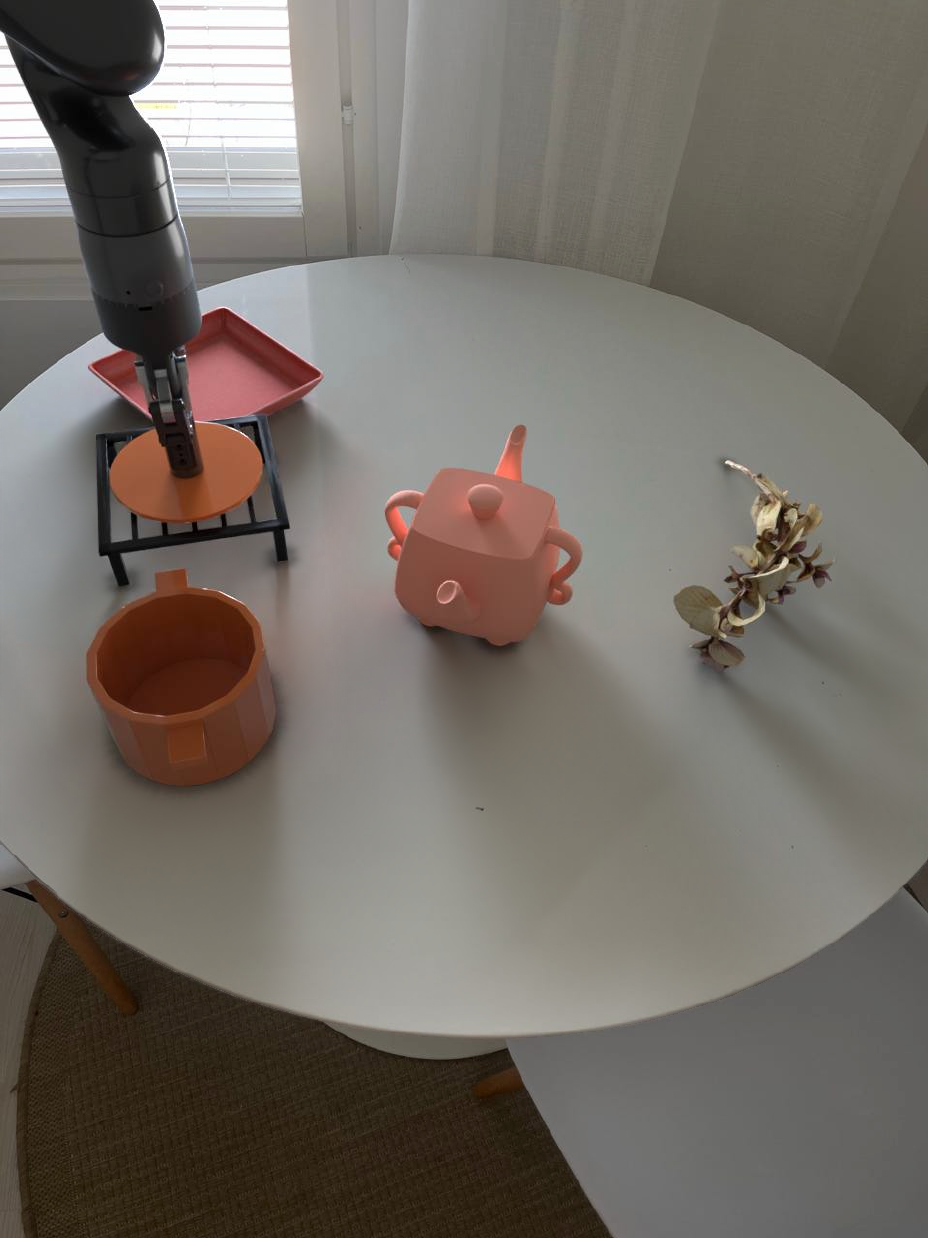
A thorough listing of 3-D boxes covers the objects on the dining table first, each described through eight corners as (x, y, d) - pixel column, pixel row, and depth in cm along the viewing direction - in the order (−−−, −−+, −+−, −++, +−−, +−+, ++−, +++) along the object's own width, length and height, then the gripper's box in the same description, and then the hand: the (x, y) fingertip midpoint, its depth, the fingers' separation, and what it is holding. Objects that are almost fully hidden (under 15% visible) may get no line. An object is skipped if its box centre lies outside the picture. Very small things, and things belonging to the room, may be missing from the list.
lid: (114, 539, 77) (92, 475, 72) (110, 440, 85) (90, 376, 80) (273, 516, 80) (263, 453, 74) (254, 423, 88) (244, 359, 83)
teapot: (511, 521, 88) (524, 415, 79) (594, 644, 79) (621, 540, 69) (366, 561, 84) (361, 454, 74) (436, 697, 74) (440, 594, 65)
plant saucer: (329, 398, 99) (327, 372, 97) (192, 472, 90) (186, 446, 88) (228, 329, 107) (223, 303, 104) (91, 391, 98) (83, 365, 95)
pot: (118, 834, 65) (87, 773, 59) (112, 645, 76) (85, 576, 70) (291, 798, 68) (280, 736, 61) (261, 620, 79) (248, 551, 72)
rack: (112, 591, 80) (98, 552, 76) (108, 474, 90) (95, 433, 86) (294, 563, 83) (289, 524, 79) (271, 453, 93) (265, 413, 89)
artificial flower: (793, 497, 97) (824, 711, 76) (664, 467, 97) (660, 672, 76) (833, 423, 91) (879, 636, 70) (694, 390, 91) (699, 593, 70)
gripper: (87, 230, 71) (136, 411, 84) (88, 329, 62) (143, 514, 75) (185, 223, 72) (218, 402, 86) (200, 319, 64) (234, 501, 77)
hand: (183, 453), depth 80 cm, fingers closed on lid, 3 cm apart
